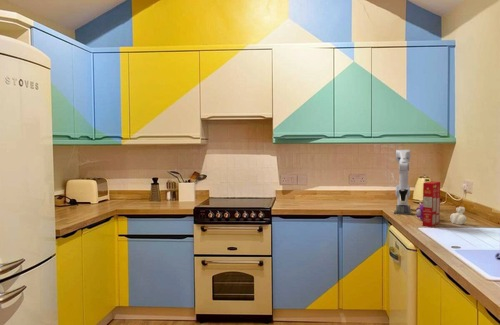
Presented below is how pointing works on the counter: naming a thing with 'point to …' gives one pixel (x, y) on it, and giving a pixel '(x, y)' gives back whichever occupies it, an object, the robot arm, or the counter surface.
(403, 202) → the plug
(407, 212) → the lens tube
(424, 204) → the food packaging
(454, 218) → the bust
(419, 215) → the toy camera
